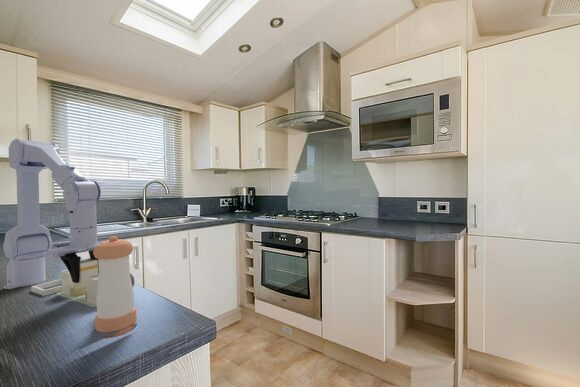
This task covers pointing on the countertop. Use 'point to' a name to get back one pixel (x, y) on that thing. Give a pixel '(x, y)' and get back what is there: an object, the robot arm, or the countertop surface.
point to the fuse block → (78, 295)
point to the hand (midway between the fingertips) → (85, 279)
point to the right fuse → (92, 288)
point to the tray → (40, 288)
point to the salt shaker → (114, 288)
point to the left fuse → (66, 282)
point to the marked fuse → (87, 270)
